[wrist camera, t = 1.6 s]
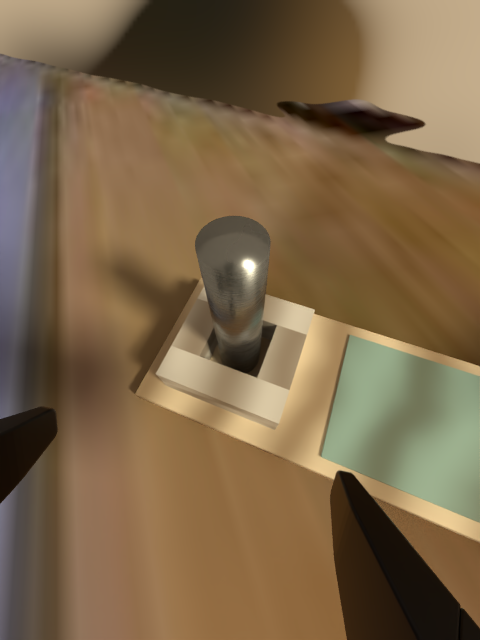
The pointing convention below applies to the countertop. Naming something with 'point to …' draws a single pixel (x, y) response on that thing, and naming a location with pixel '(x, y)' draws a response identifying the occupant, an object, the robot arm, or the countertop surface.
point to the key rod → (235, 286)
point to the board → (336, 406)
